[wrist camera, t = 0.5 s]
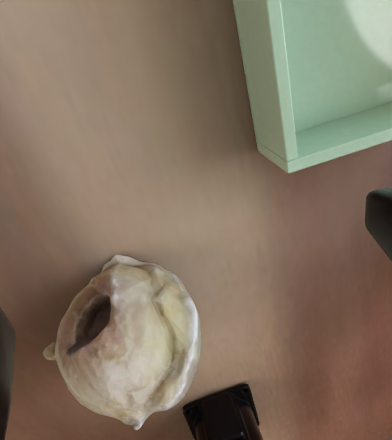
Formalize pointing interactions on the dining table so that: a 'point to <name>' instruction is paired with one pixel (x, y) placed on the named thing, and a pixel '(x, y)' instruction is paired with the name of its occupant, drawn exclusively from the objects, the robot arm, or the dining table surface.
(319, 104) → the basin
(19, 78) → the dining table surface
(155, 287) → the garlic bulb
